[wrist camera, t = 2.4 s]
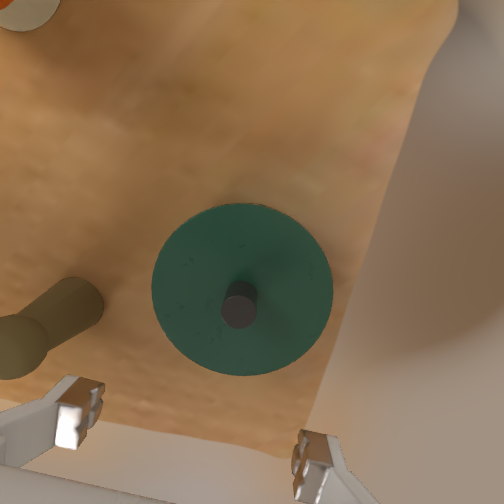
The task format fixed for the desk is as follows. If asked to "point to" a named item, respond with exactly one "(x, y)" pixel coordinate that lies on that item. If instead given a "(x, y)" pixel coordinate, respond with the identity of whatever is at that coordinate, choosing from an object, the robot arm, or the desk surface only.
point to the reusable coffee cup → (26, 13)
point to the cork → (46, 325)
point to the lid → (242, 289)
